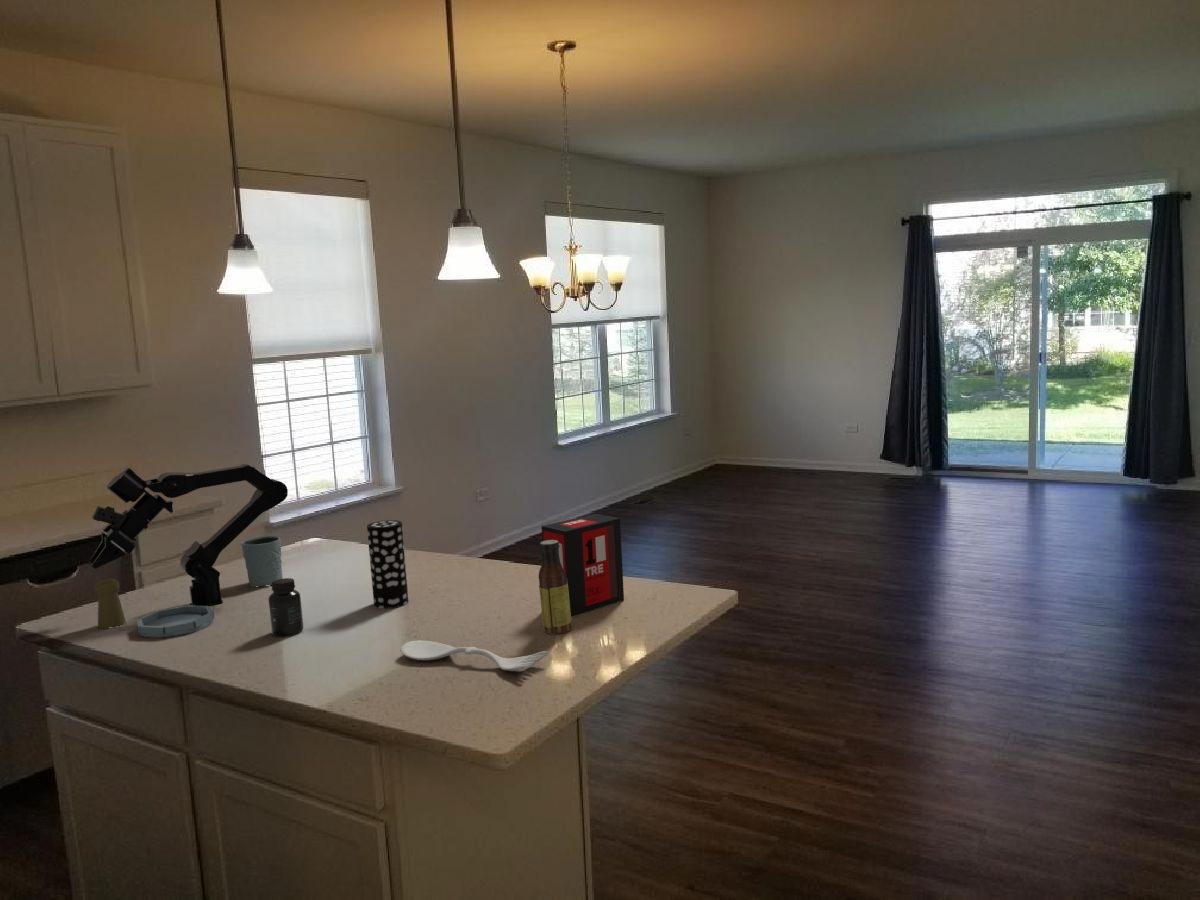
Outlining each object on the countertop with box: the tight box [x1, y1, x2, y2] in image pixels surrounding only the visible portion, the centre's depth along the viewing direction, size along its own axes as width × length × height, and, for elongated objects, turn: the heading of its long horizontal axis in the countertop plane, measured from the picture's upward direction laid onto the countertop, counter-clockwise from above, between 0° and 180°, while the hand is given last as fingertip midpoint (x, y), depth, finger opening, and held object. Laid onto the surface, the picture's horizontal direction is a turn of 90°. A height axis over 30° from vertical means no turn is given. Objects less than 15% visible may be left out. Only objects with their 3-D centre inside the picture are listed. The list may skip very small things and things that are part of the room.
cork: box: [94, 578, 127, 629], centre depth 222 cm, size 6×6×11 cm
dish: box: [136, 604, 215, 639], centre depth 219 cm, size 16×16×2 cm
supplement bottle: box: [268, 577, 304, 638], centre depth 209 cm, size 7×7×12 cm
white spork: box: [399, 639, 549, 672], centre depth 185 cm, size 9×32×4 cm, turn 63°
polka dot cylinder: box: [366, 519, 409, 610], centre depth 227 cm, size 8×8×20 cm
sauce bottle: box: [538, 540, 572, 635], centre depth 200 cm, size 6×6×20 cm
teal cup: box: [240, 535, 283, 586], centre depth 253 cm, size 10×10×12 cm
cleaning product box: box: [541, 513, 625, 618], centre depth 218 cm, size 16×9×20 cm, turn 131°
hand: (92, 565), depth 221 cm, fingers open, 9 cm apart
